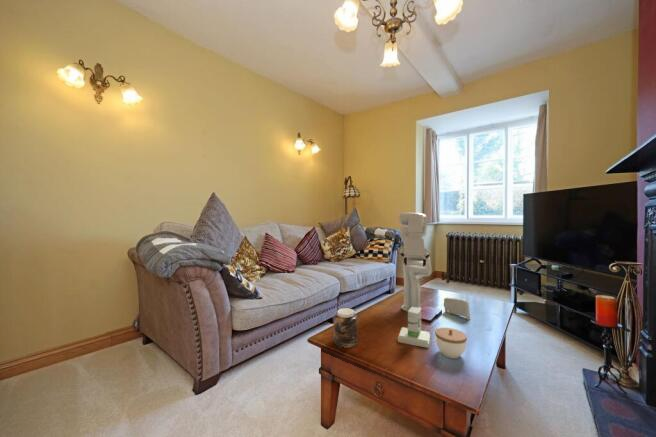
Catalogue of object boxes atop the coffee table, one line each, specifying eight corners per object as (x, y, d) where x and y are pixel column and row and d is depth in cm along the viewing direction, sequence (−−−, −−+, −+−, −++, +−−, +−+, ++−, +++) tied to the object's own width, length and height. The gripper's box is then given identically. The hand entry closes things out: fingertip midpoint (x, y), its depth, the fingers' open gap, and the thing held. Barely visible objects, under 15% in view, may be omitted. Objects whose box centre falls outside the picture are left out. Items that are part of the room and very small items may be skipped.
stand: (401, 332, 136) (401, 326, 136) (430, 337, 131) (430, 331, 130) (397, 341, 126) (397, 335, 126) (428, 348, 120) (428, 341, 120)
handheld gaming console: (447, 314, 166) (470, 319, 153) (444, 315, 164) (467, 320, 152) (445, 296, 167) (468, 299, 154) (442, 297, 165) (465, 300, 153)
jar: (333, 336, 132) (333, 306, 132) (356, 336, 132) (356, 307, 131) (333, 348, 120) (333, 315, 120) (358, 348, 120) (359, 316, 120)
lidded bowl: (451, 364, 107) (452, 338, 107) (428, 350, 119) (429, 326, 118) (473, 358, 112) (473, 332, 112) (449, 344, 124) (449, 321, 123)
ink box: (417, 338, 123) (417, 313, 123) (407, 335, 126) (407, 311, 126) (421, 331, 131) (421, 308, 131) (411, 329, 133) (411, 306, 133)
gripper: (398, 235, 146) (397, 265, 147) (431, 236, 139) (430, 268, 140) (400, 234, 153) (400, 262, 153) (432, 235, 146) (431, 265, 146)
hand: (414, 265), depth 146 cm, fingers open, 9 cm apart
